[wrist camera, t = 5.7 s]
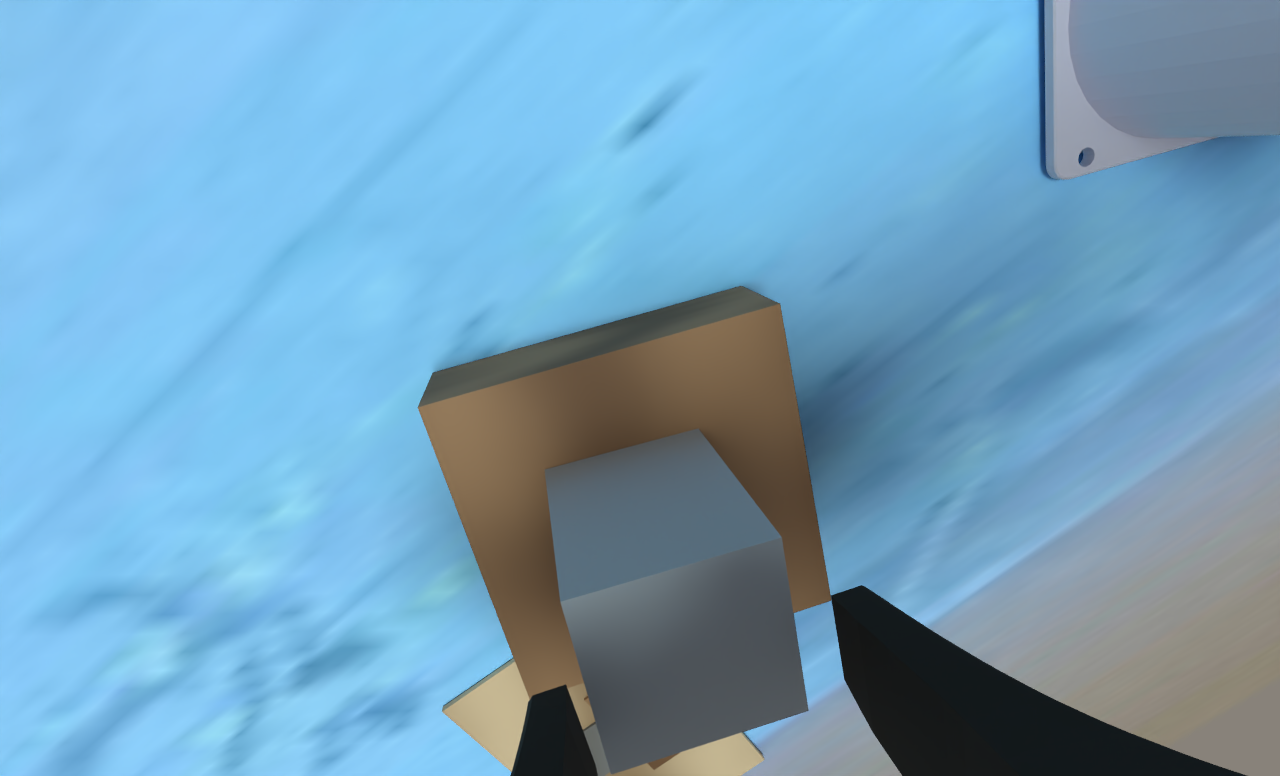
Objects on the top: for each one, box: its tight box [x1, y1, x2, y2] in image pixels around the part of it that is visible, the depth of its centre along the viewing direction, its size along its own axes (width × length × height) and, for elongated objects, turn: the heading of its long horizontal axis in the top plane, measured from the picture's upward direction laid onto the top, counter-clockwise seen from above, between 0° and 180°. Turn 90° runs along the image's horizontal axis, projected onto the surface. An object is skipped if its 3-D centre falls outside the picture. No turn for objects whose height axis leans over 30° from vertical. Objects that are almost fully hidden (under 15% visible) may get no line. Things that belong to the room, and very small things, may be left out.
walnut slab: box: [418, 286, 831, 699], centre depth 19 cm, size 9×9×3 cm
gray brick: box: [545, 429, 808, 775], centre depth 15 cm, size 4×4×6 cm
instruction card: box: [442, 658, 765, 776], centre depth 23 cm, size 7×10×1 cm
